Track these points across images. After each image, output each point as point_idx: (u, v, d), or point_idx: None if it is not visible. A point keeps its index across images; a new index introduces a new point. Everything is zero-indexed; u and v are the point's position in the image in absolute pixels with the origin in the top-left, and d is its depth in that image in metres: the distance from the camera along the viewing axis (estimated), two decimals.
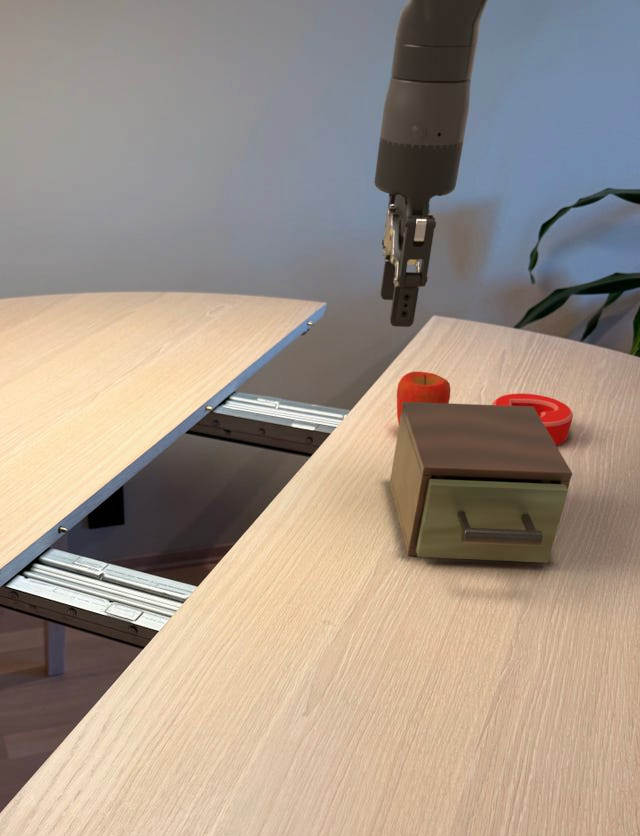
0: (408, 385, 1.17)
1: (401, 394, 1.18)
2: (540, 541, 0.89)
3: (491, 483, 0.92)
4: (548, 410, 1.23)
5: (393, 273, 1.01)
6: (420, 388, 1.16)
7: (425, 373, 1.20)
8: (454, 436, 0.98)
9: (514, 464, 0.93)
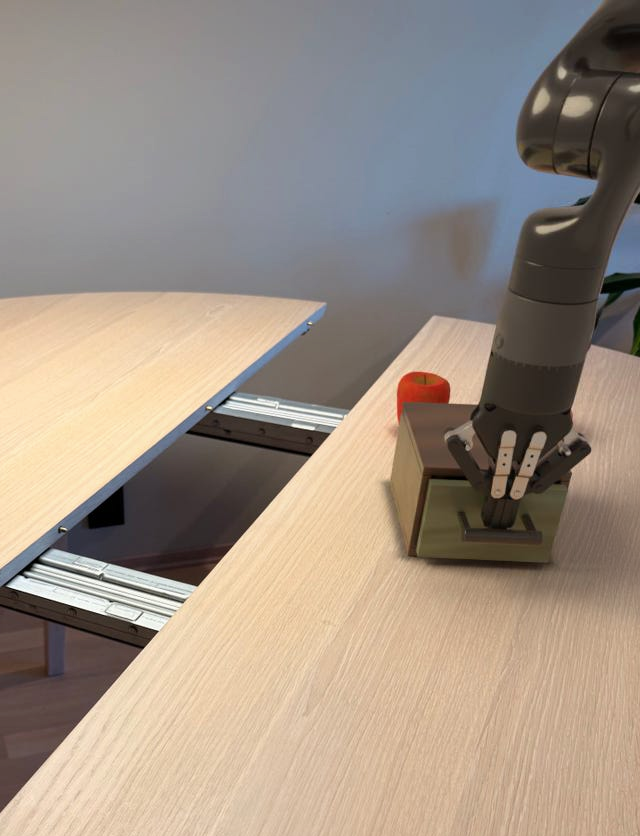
0: (408, 385, 1.17)
1: (401, 394, 1.18)
2: (540, 541, 0.89)
3: None
4: None
5: None
6: (420, 388, 1.16)
7: (425, 373, 1.20)
8: None
9: None
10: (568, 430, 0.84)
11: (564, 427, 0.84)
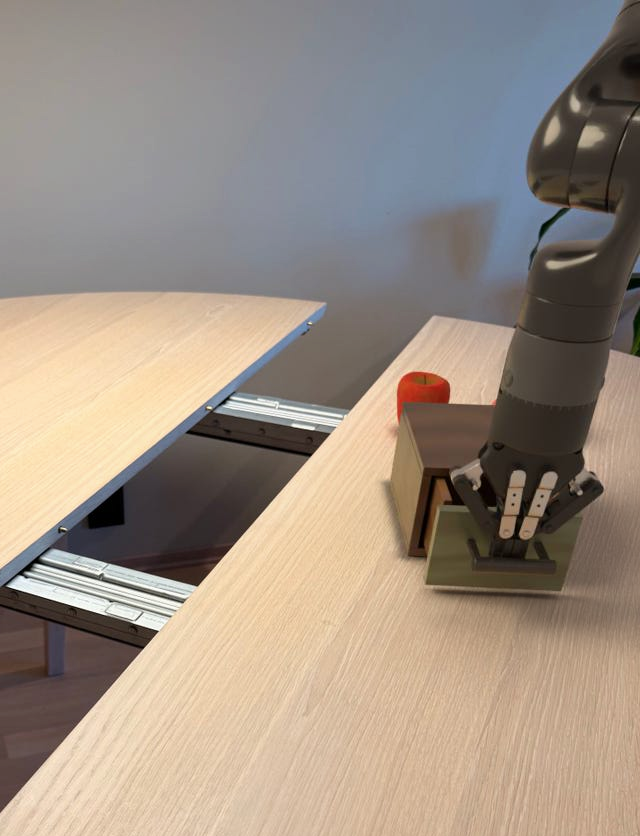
0: (408, 385, 1.17)
1: (401, 394, 1.18)
2: (554, 571, 0.85)
3: None
4: None
5: None
6: (420, 388, 1.16)
7: (425, 373, 1.20)
8: (454, 436, 0.98)
9: None
10: (580, 469, 0.81)
11: (576, 466, 0.81)
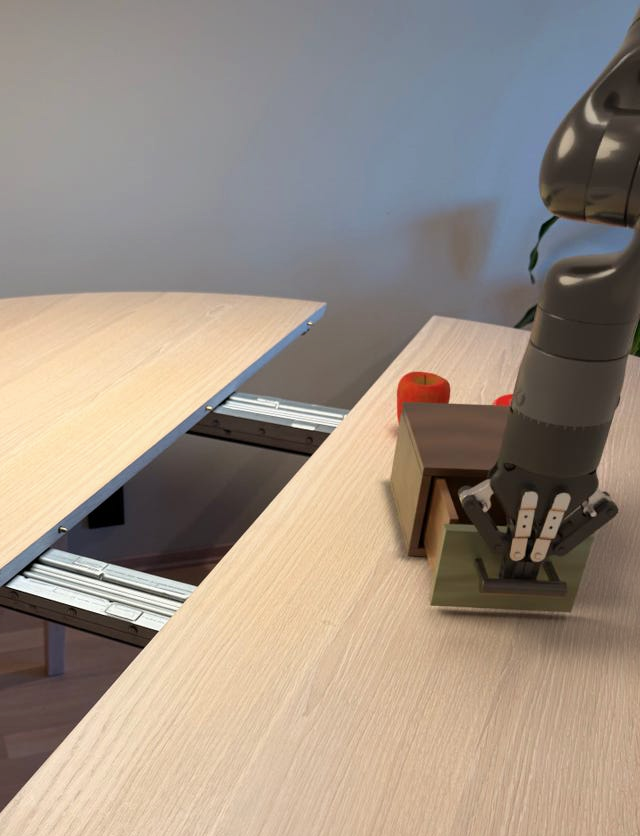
0: (408, 385, 1.17)
1: (401, 394, 1.18)
2: (564, 593, 0.82)
3: None
4: None
5: None
6: (420, 388, 1.16)
7: (425, 373, 1.20)
8: (454, 436, 0.98)
9: None
10: (593, 490, 0.78)
11: (589, 487, 0.78)
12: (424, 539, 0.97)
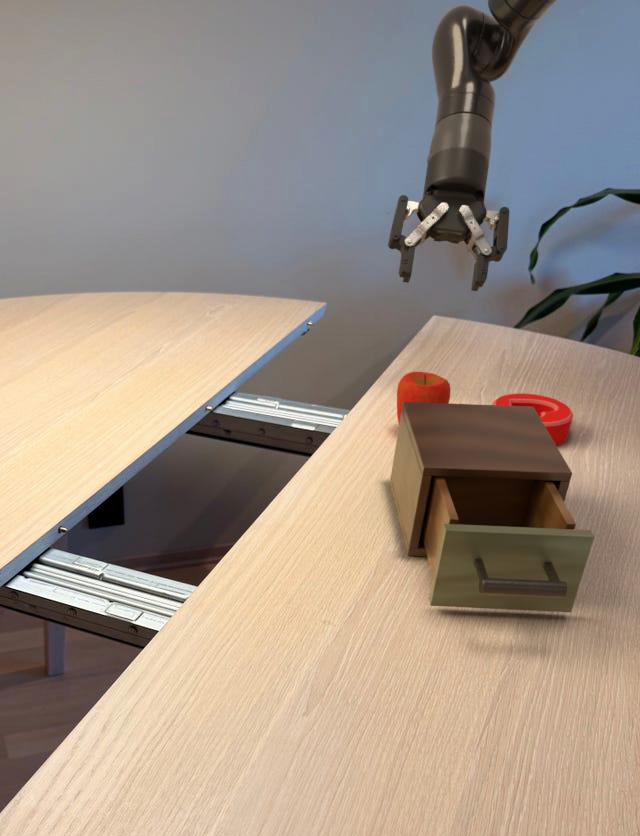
0: (408, 385, 1.17)
1: (401, 394, 1.18)
2: (564, 593, 0.82)
3: (511, 529, 0.85)
4: (548, 410, 1.23)
5: (475, 268, 1.22)
6: (420, 388, 1.16)
7: (425, 373, 1.20)
8: (454, 436, 0.98)
9: (514, 464, 0.93)
10: None
11: None
12: (424, 539, 0.97)
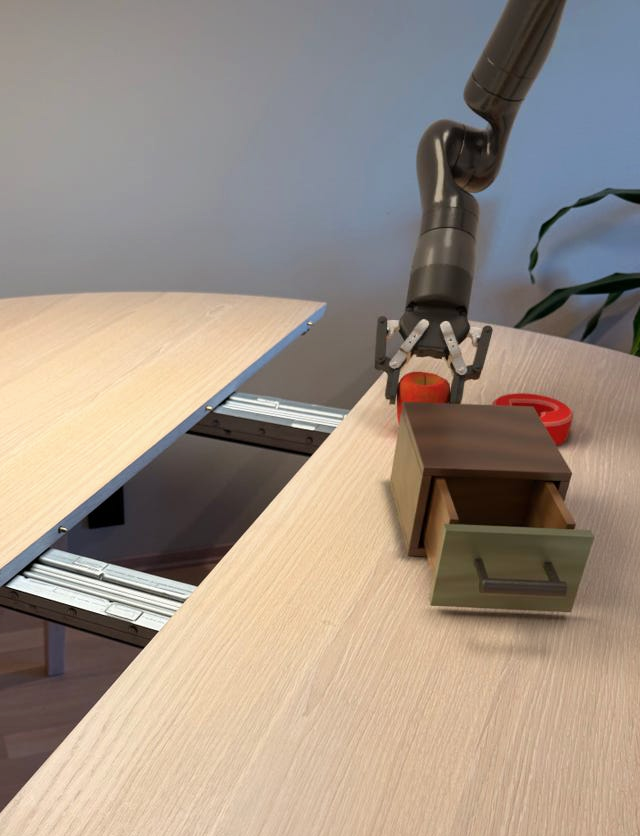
0: (408, 385, 1.17)
1: (401, 395, 1.18)
2: (564, 593, 0.82)
3: (511, 529, 0.85)
4: (548, 410, 1.23)
5: (451, 387, 1.18)
6: (419, 388, 1.16)
7: (425, 373, 1.20)
8: (454, 436, 0.98)
9: (514, 464, 0.93)
10: (400, 330, 1.21)
11: None
12: (424, 539, 0.97)
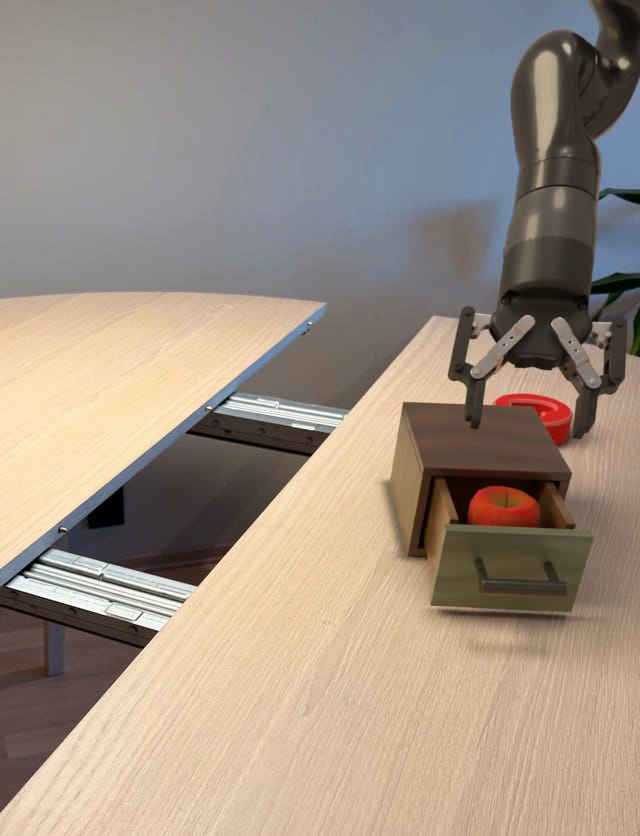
0: (484, 507, 0.88)
1: (474, 518, 0.89)
2: (564, 593, 0.82)
3: (511, 529, 0.85)
4: (548, 410, 1.23)
5: (577, 406, 0.84)
6: (500, 513, 0.87)
7: (506, 488, 0.91)
8: (454, 436, 0.98)
9: (514, 464, 0.93)
10: None
11: None
12: (424, 539, 0.97)
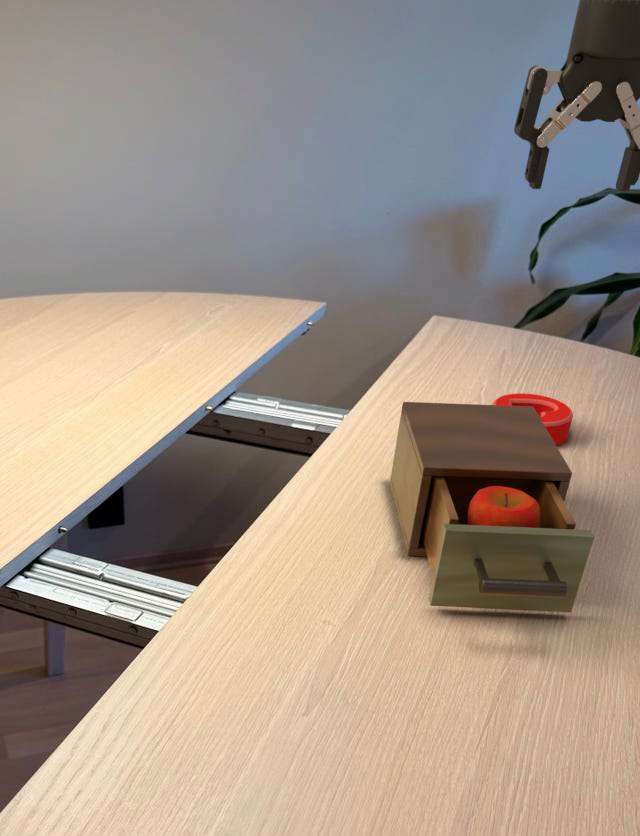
0: (484, 507, 0.88)
1: (474, 518, 0.89)
2: (564, 593, 0.82)
3: (511, 529, 0.85)
4: (548, 410, 1.23)
5: (625, 160, 0.96)
6: (500, 513, 0.87)
7: (506, 488, 0.91)
8: (454, 436, 0.98)
9: (514, 464, 0.93)
10: None
11: None
12: (424, 539, 0.97)
